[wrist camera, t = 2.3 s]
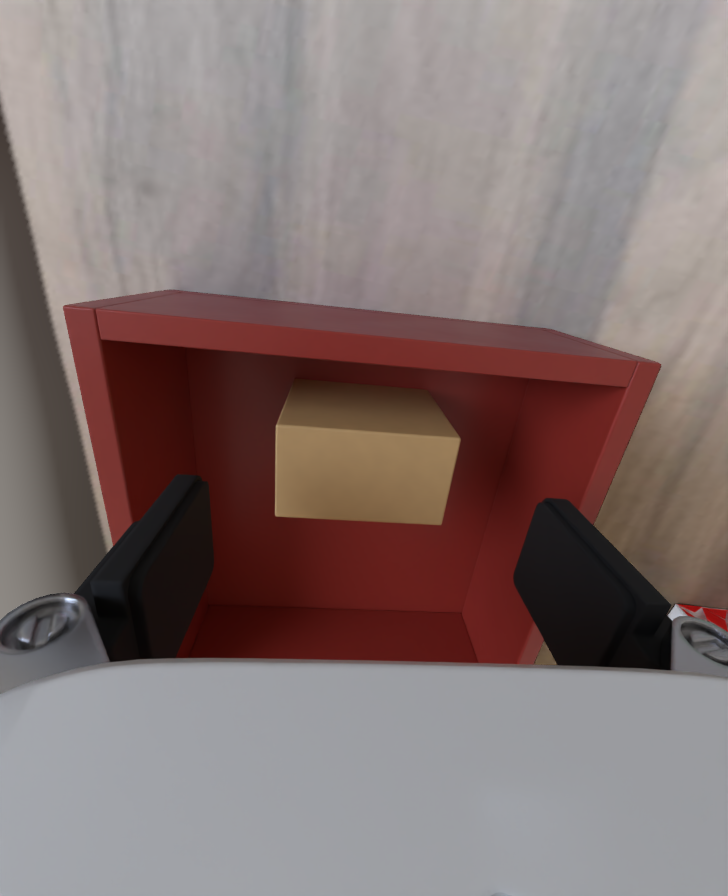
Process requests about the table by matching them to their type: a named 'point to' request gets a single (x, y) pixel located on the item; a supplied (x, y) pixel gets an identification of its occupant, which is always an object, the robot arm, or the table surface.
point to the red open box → (341, 541)
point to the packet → (363, 454)
